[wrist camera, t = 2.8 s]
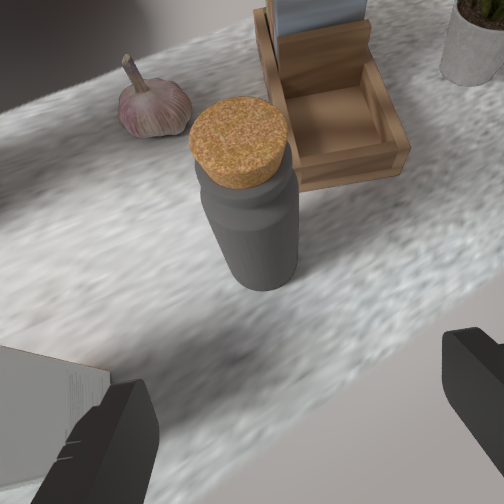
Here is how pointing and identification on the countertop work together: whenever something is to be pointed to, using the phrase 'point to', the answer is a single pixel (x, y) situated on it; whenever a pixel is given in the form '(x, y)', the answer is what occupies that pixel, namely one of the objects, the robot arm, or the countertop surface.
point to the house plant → (474, 42)
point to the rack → (329, 92)
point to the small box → (40, 411)
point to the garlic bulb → (152, 105)
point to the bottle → (249, 188)
